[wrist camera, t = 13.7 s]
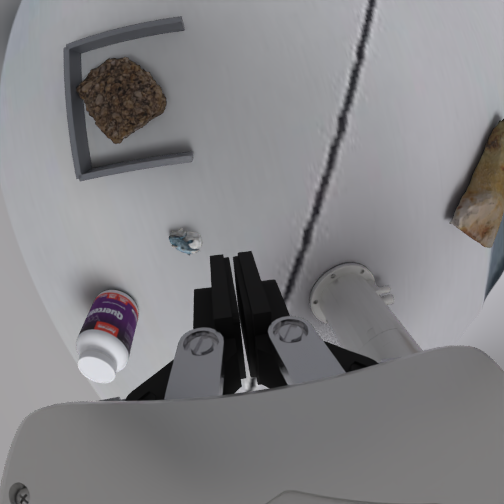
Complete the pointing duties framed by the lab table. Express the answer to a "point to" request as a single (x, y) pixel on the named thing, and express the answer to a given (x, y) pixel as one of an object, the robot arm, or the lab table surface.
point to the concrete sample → (121, 97)
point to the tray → (77, 107)
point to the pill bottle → (107, 336)
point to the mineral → (484, 193)
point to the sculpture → (185, 241)
